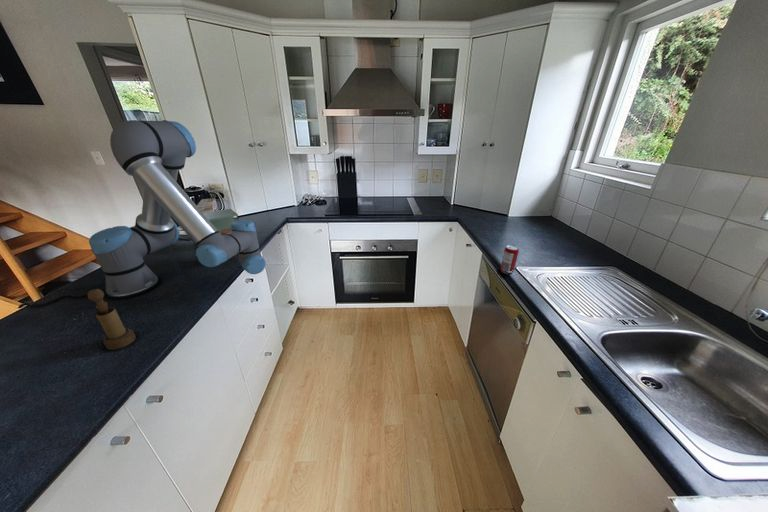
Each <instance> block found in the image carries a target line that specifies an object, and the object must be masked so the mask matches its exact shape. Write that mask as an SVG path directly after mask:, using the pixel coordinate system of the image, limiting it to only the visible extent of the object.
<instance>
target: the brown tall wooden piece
mask: <svg viewBox="0 0 768 512" xmlns="http://www.w3.org/2000/svg"><path fill="white" fill-rule="evenodd" d="M87 292H88V295H86V296H87V298H88V300H90V301H92V302H95V308H96V309H97V310H98V311H96V312H95V317H96V318H97V320H98V322H99V324H100V325H101V327H102V329H103V331H104V333H105V335H106V336H105V337H104V339H103V340H102V341H103V344H104V346H105V349H107V350H109V351H110V350H111V351H115V350H120V349H122V348H126V347H127V346H129V345H131V344H132V343H133V342H134V341H136V338H137V336H136V334H135V333H134V330H133V329H131V328H125V325H124V324H123V322H122V319H121V317H120V315H119V314H118V312H117V310H116V307H113V306H109V305H108V302H107V301H105V300H104V296H105V293H104V291H103V290H99V288H93V289H91V290H90V291H87ZM108 306H109V307H108Z"/></svg>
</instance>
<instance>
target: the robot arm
mask: <svg viewBox="0 0 768 512" xmlns="http://www.w3.org/2000/svg"><path fill="white" fill-rule="evenodd" d="M109 140H110V141H109V145H110V149H111V153H112V155H113V157H114V159H115V160H116V162H117V164H118V165H119V166H120V167H121V168H122V170H123V171H124V172H125V173H126V174H127V175H128V176H131V177H134V178H136V180H137V181H138V182H139V183H140V184H141V185H142V186H143V198H142V206H141V207H142V208H141V213H139V214H138V215H137V216H136V218H135V223H134V225H133V226H130V227H129V226H127V225H117V226H113V227H108V228H105V229H102V230H99V231H97V232H96V233H93V234H92V235H91V236H90V238H89V239H88V244H89V246H90V250H91V252H92V253H93V255H94V257H95V258H96V261H97V263H98V265H99V266H100V268H101V271H102V272H103V274H104V277H105V286H103V287H99V288H98V289H99V290H102V291H103V290H105V293H106V294H107V297H108V298H111V299H117V300H118V299H119V300H121V299H127V298H132V297H136V296H139V295H142V294H144V293H147V292H149V291H151V290H152V289H154V288H156V287H157V285H158V284H159V282H160V281H159V278H158V276H157V275H156V274H155V273H154V272H153V271H152V270H151V268H150V267H148V266H147V264H146V263H145V260H144V257H146V256H148V255H151V254H153V253H155V252H158V251H161V250H163V249H165V248H169V247H170V246H172V245H174V244H175V243H176V242H178V240H179V238H180V230H179V229H178V226H179V227H180V228H181V230H182V231H183V232H184V233H185V234H186V235H187V236H188V237H189V238H190V239H191V241H192V242H193V243H194V244H195V245H196V247H197V248H196V250H195V256H196V257H197V261H198V262H199V263H200V264H201V265H203V266H205V267H206V268H215V267H217V266H219V265H221V264H223V263H226V262H227V261H228V260H229V259H231V258H233V259H235V260H236V262H238V263H239V265H240V266H241V268H242V269H243V270H244V271H245V272H246V273H248V274H250V275H259V274H260V273H262V272H263V271H264V270H265V268H266V265H267V263H266V260H265V258H264V257H263V256H262V252H261V248H260V244H259V239H258V234H257V230H256V225H255V223H254V222H253V221H252V220H250V219H239V220H234V222H233V223H232V224H231V230H232V231H231V232H229V233H227V234H225V235H223V236H222V235H221V234H220V232H219V231H218V230H217V229H216V228H215V227H214V226H213V224H212V223H211V222H210V221H209V220H208V219H207V217H206V216H205V215H204V214H203V213H202V212H201V210H200V209H199V208H198V207H197V204H196V203H195V202H194V201H193V200H192V198H191V197H190V196H189V194H187V192H186V191H185V190H184V189H183V188H182V187H181V186H180V185H179V183H178V182H177V180H178V174H179V171H182V170H183V169H184V168H185V164H186V160H187V158H188V159H189V158H191V157H193V156H194V155H195V154H196V151H197V145H196V141H195V138H194V137H193V135H192V133H191V132H190V130H189V129H188V128H187V127H186V126H185V125H183V124H182V123H180V122H178V121H174V120H173V121H172V120H166V119H163V120H162V119H161V120H137V119H129V120H125V121H121V122H119V123H118V124H116V125H115V126H114V127H113V129H112V131H111V133H110V139H109ZM88 292H89V291H86V292H84V293H80V294H74V293H65V294H62V295H59V296H57V297H54V298H52V299H50V300H48V301H45V302H41V303H40V302H39V303H34V304H32V302H24V303H21V304H19V305H18V307H17V309H22V308H23V307H25V306H29V307H42V306H46V305H49V304H52V303H54V302H57V301H59V300H60V299H63V298H66V297H73V298H82V297H85V296H87V295H88ZM30 304H32V305H30Z"/></svg>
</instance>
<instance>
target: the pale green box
mask: <svg viewBox="0 0 768 512" xmlns="http://www.w3.org/2000/svg"><path fill="white" fill-rule="evenodd" d="M203 214H204V215H205V216H206V217H207V219H208V220H209V221H210V222H211V223H212V224H213V226H214V227H215V228H216V229H217V230H218V231H219V232H220V231H221V230H224V229H228V228H231V224H232V223H233V222H235V219H234V217H238V216H239V214H238V213H237V212H236V211H235V210H233V209H232V208H227V209H221V210H218V211H214V212H208V213H203ZM220 234H221V232H220Z"/></svg>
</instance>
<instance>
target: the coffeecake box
mask: <svg viewBox="0 0 768 512" xmlns="http://www.w3.org/2000/svg"><path fill="white" fill-rule="evenodd" d="M196 206H197V207H198V208H199V209H200V210H201V212H202V213H208V212H214V211H219V208H218V203H217V201H216V198H213V197H212V198H202V199H200V201H199V202H198V203H197V204H196Z"/></svg>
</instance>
